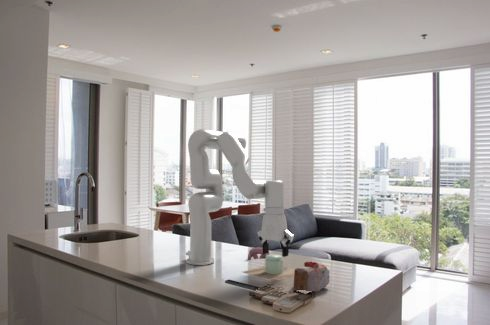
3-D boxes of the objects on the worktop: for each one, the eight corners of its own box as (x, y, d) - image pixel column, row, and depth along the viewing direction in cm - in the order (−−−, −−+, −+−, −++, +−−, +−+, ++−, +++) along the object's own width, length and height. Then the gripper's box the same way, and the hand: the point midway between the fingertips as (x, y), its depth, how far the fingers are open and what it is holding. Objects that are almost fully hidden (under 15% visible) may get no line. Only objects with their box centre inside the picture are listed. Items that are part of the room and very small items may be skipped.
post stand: (241, 275, 156) (241, 261, 156) (269, 267, 170) (269, 254, 170) (278, 284, 144) (278, 269, 144) (305, 275, 158) (305, 261, 158)
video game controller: (269, 264, 183) (270, 249, 187) (267, 261, 180) (269, 246, 183) (248, 262, 186) (250, 248, 189) (246, 260, 182) (248, 245, 185)
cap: (261, 271, 157) (262, 256, 157) (272, 268, 162) (272, 253, 162) (275, 274, 152) (275, 258, 152) (285, 271, 157) (285, 256, 157)
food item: (312, 283, 147) (312, 256, 147) (331, 287, 141) (331, 260, 142) (291, 291, 136) (291, 263, 137) (311, 296, 131) (311, 266, 131)
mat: (225, 282, 146) (225, 280, 146) (242, 277, 154) (242, 275, 154) (254, 290, 137) (254, 288, 137) (271, 284, 144) (271, 282, 144)
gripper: (252, 211, 160) (252, 253, 160) (287, 213, 149) (287, 259, 148) (263, 209, 166) (264, 251, 165) (298, 211, 154) (298, 256, 154)
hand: (275, 254), depth 157 cm, fingers open, 9 cm apart
